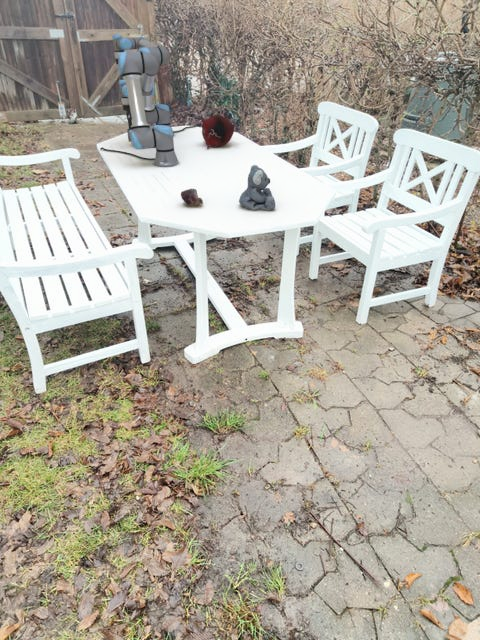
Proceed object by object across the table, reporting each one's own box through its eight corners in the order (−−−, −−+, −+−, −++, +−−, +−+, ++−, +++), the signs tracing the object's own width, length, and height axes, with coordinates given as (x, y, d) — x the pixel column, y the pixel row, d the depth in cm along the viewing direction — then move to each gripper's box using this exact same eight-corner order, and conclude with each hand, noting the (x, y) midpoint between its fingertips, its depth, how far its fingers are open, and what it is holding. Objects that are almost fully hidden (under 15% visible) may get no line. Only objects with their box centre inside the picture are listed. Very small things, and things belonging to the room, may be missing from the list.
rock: (196, 202, 238) (178, 205, 233) (194, 185, 234) (176, 188, 230) (205, 205, 228) (187, 208, 224) (203, 188, 224) (185, 191, 220)
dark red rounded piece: (199, 121, 337) (198, 117, 314) (230, 114, 337) (230, 110, 313) (206, 150, 344) (205, 149, 321) (236, 143, 343) (237, 142, 320)
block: (128, 141, 330) (127, 130, 326) (128, 140, 334) (127, 128, 330) (136, 141, 331) (135, 129, 326) (136, 139, 335) (135, 128, 330)
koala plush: (276, 211, 223) (277, 171, 212) (240, 212, 222) (240, 172, 211) (271, 199, 237) (272, 161, 226) (237, 200, 236) (237, 162, 225)
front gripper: (132, 105, 312) (137, 141, 325) (133, 102, 327) (137, 136, 340) (121, 106, 311) (126, 141, 324) (122, 102, 326) (127, 136, 339)
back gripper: (124, 59, 338) (128, 90, 350) (125, 56, 358) (129, 86, 370) (114, 59, 336) (119, 91, 349) (115, 57, 357) (120, 86, 369)
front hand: (132, 138), depth 332 cm, fingers closed on block, 5 cm apart
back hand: (124, 88), depth 359 cm, fingers open, 13 cm apart
